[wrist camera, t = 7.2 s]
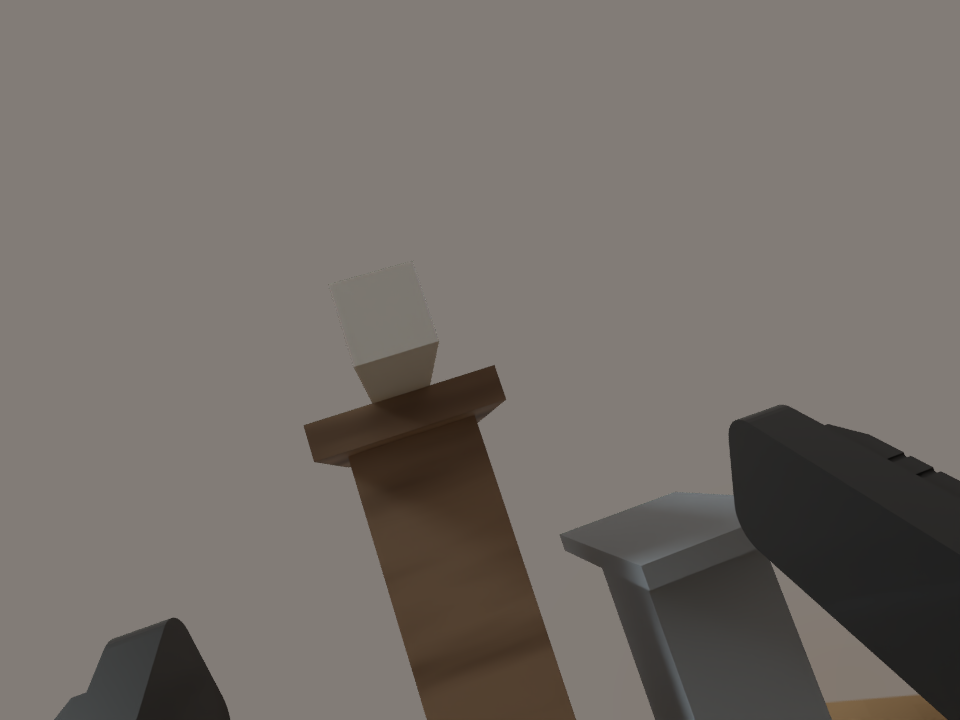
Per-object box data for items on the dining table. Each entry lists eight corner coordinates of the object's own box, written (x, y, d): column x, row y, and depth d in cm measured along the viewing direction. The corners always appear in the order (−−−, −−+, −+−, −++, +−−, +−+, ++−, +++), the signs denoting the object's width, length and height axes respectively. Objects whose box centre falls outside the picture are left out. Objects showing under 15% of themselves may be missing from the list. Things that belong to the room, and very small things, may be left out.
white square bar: (446, 338, 17) (415, 245, 18) (346, 368, 17) (316, 272, 17) (426, 415, 39) (412, 373, 39) (382, 430, 38) (369, 386, 39)
